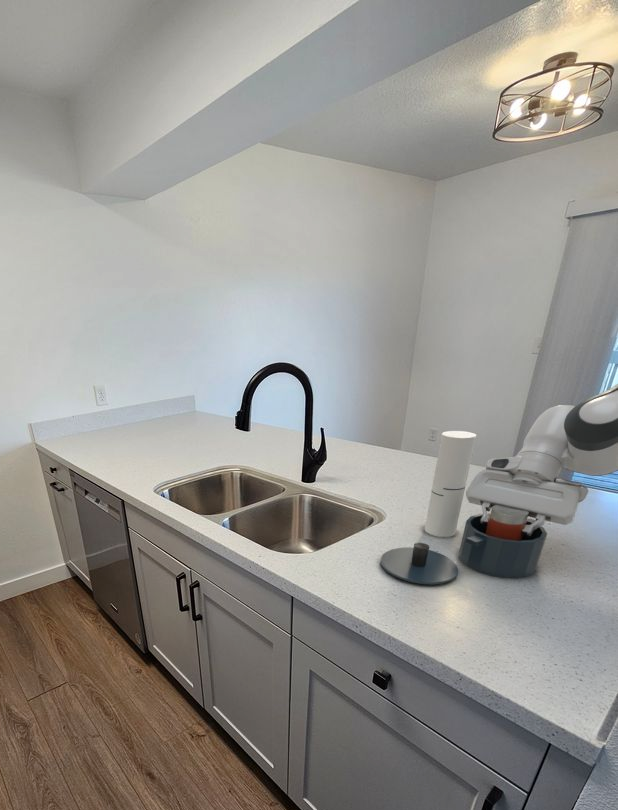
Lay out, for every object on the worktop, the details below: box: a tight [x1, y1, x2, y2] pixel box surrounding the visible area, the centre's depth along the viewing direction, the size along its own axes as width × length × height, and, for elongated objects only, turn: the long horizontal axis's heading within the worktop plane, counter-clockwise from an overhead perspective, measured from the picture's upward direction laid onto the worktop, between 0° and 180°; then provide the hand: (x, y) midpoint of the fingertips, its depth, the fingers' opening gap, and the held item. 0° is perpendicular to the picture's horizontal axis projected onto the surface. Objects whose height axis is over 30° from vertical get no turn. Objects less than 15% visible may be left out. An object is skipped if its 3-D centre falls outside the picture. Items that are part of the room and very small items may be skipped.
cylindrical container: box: [424, 430, 477, 538], centre depth 107 cm, size 7×7×25 cm
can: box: [485, 504, 529, 541], centre depth 94 cm, size 7×7×9 cm
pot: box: [458, 512, 548, 579], centre depth 96 cm, size 15×20×8 cm
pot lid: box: [380, 542, 459, 585], centre depth 95 cm, size 16×16×6 cm
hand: (504, 528), depth 93 cm, fingers closed on can, 7 cm apart
